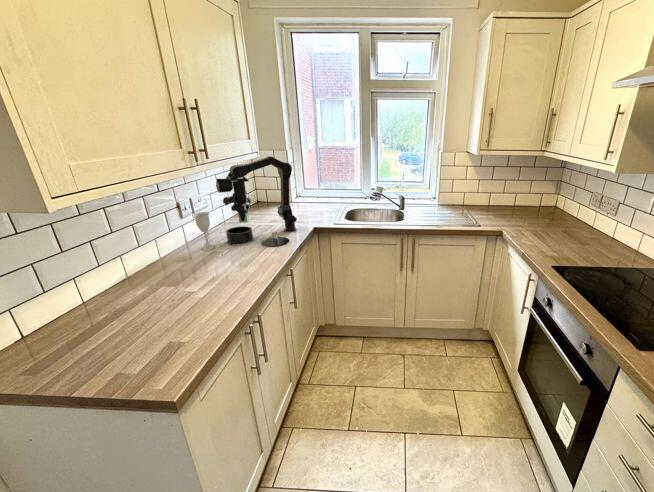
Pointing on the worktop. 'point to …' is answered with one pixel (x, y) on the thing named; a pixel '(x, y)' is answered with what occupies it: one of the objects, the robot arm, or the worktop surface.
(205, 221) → the chalice
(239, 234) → the tin
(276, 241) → the tin lid
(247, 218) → the block
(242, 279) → the worktop surface
